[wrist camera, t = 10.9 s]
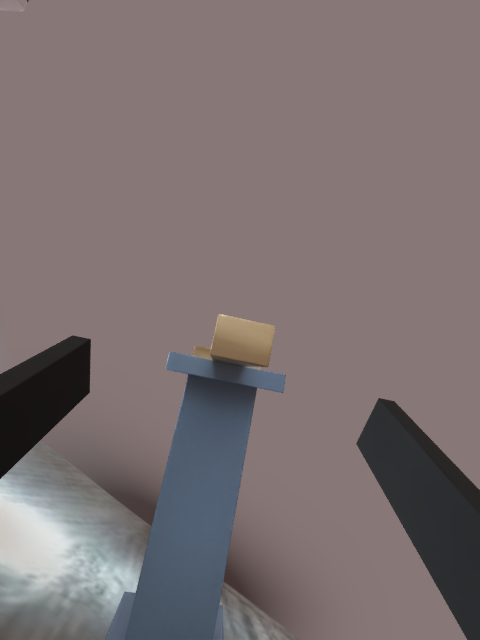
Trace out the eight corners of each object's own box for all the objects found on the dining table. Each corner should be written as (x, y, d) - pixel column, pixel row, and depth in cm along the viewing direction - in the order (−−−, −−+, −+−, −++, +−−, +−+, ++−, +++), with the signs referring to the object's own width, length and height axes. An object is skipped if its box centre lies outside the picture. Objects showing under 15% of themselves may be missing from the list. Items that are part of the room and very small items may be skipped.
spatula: (312, 376, 11) (317, 334, 11) (163, 345, 10) (174, 303, 11) (248, 369, 32) (250, 355, 33) (198, 359, 32) (202, 344, 32)
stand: (224, 897, 13) (297, 377, 20) (11, 883, 13) (157, 348, 19) (220, 619, 28) (262, 372, 34) (120, 606, 27) (183, 356, 34)
